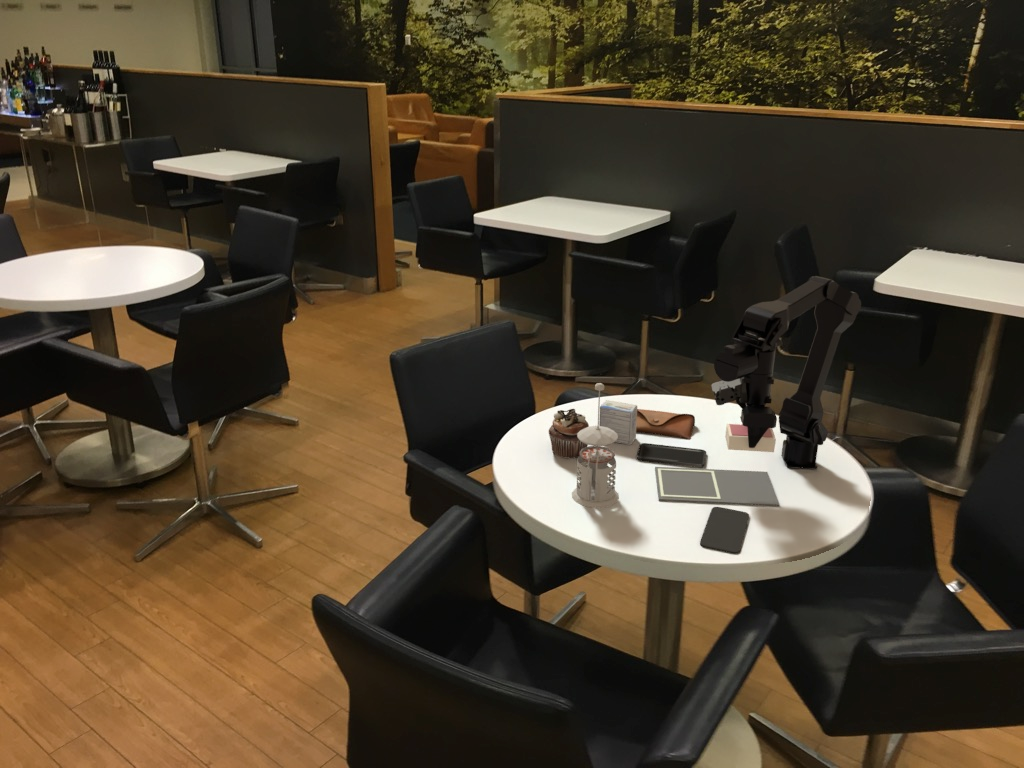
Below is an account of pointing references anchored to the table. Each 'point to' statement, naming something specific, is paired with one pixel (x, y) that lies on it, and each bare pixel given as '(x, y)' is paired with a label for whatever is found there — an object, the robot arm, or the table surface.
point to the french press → (596, 466)
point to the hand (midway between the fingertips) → (749, 440)
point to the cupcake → (567, 433)
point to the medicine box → (619, 420)
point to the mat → (715, 486)
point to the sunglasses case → (665, 423)
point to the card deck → (739, 439)
